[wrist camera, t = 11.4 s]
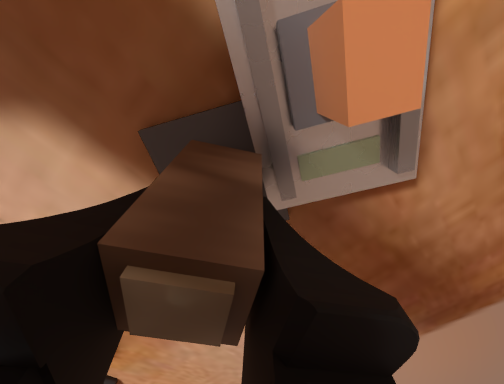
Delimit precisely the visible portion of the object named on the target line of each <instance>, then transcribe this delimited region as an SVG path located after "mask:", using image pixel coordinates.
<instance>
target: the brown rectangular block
mask: <svg viewBox="0 0 504 384" xmlns="http://www.w3.org/2000/svg"><path fill="white" fill-rule="evenodd" d="M97 246H98V250H99V254H100V258H101V262H102V267H103V271H104V275H105V279H106V283H107V287H108V292H109V296H110V300H111V304H112V308H113V313H114V317H115V321H116V325H117V329H118V330H122V331H129V332H130V335H137V336H145V337H152V338H160V339H167V340H175V341H182V342H190V343H197V344H205V345H212V346H220V344H226V345H234V346H237V345H238V343H239V340H240V337H241V334H242V332H243V329H244V326H245V323H246V321H247V318H248V315H249V312H250V310H251V307H252V304H253V301H254V299H255V296H256V293H257V290H258V287H259V285H260V282H261V279H262V276H263V274H264V231H263V190H262V154H258V153H253V152H249V151H244V150H239V149H234V148H229V147H225V146H220V145H215V144H210V143H206V142H201V141H196V140H191V141H190V142H189V143H188V144H187V145H186V146H185V147H184V148H183V150H182V151H181V152H180V153H179V154H178V155H177V156H176V157H175V158H174V159H173V161H172V162H171V163H170V164H169V165H168V166H167V167H166V168H165V169H164V170H163V172H162V173H161V174H160V175H159V176H158V177H157V178H156V179H155V180H154V181H153V182H152V184H151V185H150V186H149V187H148V188H147V189H146V190H145V191H144V192H143V193H142V195H141V196H140V197H139V198H138V199H137V200H136V201H135V202H134V203H133V204H132V206H131V207H130V208H129V209H128V210H127V211H126V212H125V213H124V214H123V215H122V216H121V218H120V219H119V220H118V221H117V222H116V223H115V224H114V225H113V226H112V227H111V229H110V230H109V231H108V232H107V233H106V234H105V235H104V236H103V237H102V238H101V240H100V241H99V242H98V243H97Z"/></svg>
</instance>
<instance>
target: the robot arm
mask: <svg viewBox="0 0 504 384" xmlns="http://www.w3.org/2000/svg"><path fill="white" fill-rule="evenodd" d="M148 187H149V186H148ZM148 187H146V188H144V189H141V190H139V191H136V192H134V193H131V194H129V195H126V196H123V197H120V198H118V199H115V200H112V201H109V202H106V203H103V204H100V205H96V206H92V207H89V208H85V209H81V210H77V211H73V212H68V213H63V214H58V215H54V216H49V217H44V218H39V219H33V220H27V221H21V222H14V223H7V224H0V384H103V383H104V381H105V378H106V375H107V373H108V370H109V367H110V365H111V362H112V360H113V357H114V355H115V352H116V350H117V347H118V345H119V342H120V340H121V337H122V334H123V332H124V331H122V330H118V329H117V325H116V321H115V317H114V313H113V308H112V304H111V300H110V296H109V292H108V287H107V283H106V279H105V275H104V271H103V267H102V262H101V258H100V254H99V250H98V246H97V243H98V242H99V241H100V240H101V238H102V237H103V236H104V235H105V234H106V233H107V232H108V231H109V230H110V229H111V227H112V226H113V225H114V224H115V223H116V222H117V221H118V220H119V219H120V218H121V216H122V215H123V214H124V213H125V212H126V211H127V210H128V209H129V208H130V207H131V206H132V204H133V203H134V202H135V201H136V200H137V199H138V198H139V197H140V196H141V195H142V193H143V192H144V191H145V190H146V189H147V188H148ZM263 231H264V274H263V276H262V279H261V282H260V285H259V287H258V290H257V293H256V296H255V299H254V301H253V304H252V307H251V310H250V312H249V315H248V318H247V321H246V323H245V340H244V356H243V371H242V384H396V383H395V381H394V379H393V377H392V374H393V373H395V372H396V371H397V370H398V369H399V367H401V366H402V365H403V364H404V363H405V362H406V361H407V360H408V359H409V358H410V357H411V356H412V355H413V353H414V352H415V351H416V349H417V346H418V342H419V334H418V330H417V329H416V327H415V326H414V324H413V323H412V321H411V320H410V319H409V317H408V316H407V314H406V313H405V311H404V310H403V308H402V307H401V305H400V304H399V302H398V301H397V299H396V298H394V297H393V296H391V295H389V294H387V293H385V292H383V291H381V290H379V289H378V288H376V287H374V286H372V285H370V284H368V283H366V282H364V281H363V280H361V279H359V278H357V277H356V276H354V275H353V274H351V273H349V272H348V271H346V270H344V269H343V268H341V267H340V266H338V265H337V264H335V263H334V262H332V261H331V260H330V259H328V258H327V257H325V256H324V255H323V254H321V253H320V252H319V251H317V250H316V249H315V248H314V247H312V246H311V245H310V244H309V243H308V242H307V241H305V240H304V239H303V238H302V237H301V236H300V235H299V234H298V233H297V232H296V231H295V230H294V229H293V228H292V227H291V226H290V225H289V224H288V223H287V222H286V221H285V220H284V218H283V217H282V216H281V215H280V214H279V212H278V211H277V210H276V209H275V207H274V206H273V205H272V203H271V202H270V201H269V200H268V198H267V197H264V196H263Z"/></svg>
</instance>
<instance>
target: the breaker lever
mask: <svg viewBox="0 0 504 384" xmlns="http://www.w3.org/2000/svg"><path fill="white" fill-rule="evenodd" d="M430 10H431V0H338V1H335V2H332V3H329V4H326V5H323V6H320V7H317V8H313V9H310V10H307V11H304V12H301V13H298V14H295V15H292V16H289V17H286V18H283V19H280V20H277V22H276V28H277V34H278V40H279V46H280V52H281V58H282V63H283V69H284V75H285V81H286V87H287V93H288V99H289V105H290V111H291V116H292V122H293V128H294V130H295V131H297V130H301V129H305V128H308V127H312V126H316V125H320V124H323V123H327V122H331V121H336V122H338V123H340V124H343V125H345V126H347V127H352V126H355V125H359V124H363V123H367V122H371V121H374V120H378V119H382V118H386V117H390V116H393V115H397V114H401V113H405V112H409V111H412V110H416V109H420V108H421V101H422V91H423V81H424V71H425V61H426V51H427V40H428V30H429V20H430Z"/></svg>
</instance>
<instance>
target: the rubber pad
mask: <svg viewBox="0 0 504 384" xmlns="http://www.w3.org/2000/svg"><path fill="white" fill-rule="evenodd" d="M138 133H139V135H140V137H141V139H142V141H143V143H144V145H145V147H146V149H147V151H148V152H149V154H150V156H151V158H152V160H153V162H154V164H155V166H156V168H157V170H158V172H159V174H161V173H162V172H163V170H164V169H165V168H166V167H167V166H168V165H169V164H170V163H171V162H172V161H173V159H174V158H175V157H176V156H177V155H178V154H179V153H180V152H181V151H182V150H183V148H184V147H185V146H186V145H187V144H188V143H189V142H190V141H191V140H196V141H201V142H206V143H210V144H215V145H220V146H225V147H229V148H234V149H239V150H244V151H249V152H253V153H255V149H254V145H253V141H252V138H251V134H250V130H249V126H248V123H247V119H246V115H245V111H244V107H243V104H242V100H241V101H238V102H234V103H231V104H228V105H224V106H221V107H217V108H214V109H210V110H207V111H204V112H200V113H197V114H193V115H190V116H186V117H183V118H180V119H176V120H173V121H169V122H166V123H162V124H159V125H156V126H152V127H149V128H145V129H142V130H139V131H138ZM262 190H263V196H264V197H267V194H266V190H265V187H264V183H263V179H262ZM277 211H278V212H279V214H280V215H281V216H282V217H283V218H284V220H289V215H288V210H287V208H285V209H281V210H277Z"/></svg>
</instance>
